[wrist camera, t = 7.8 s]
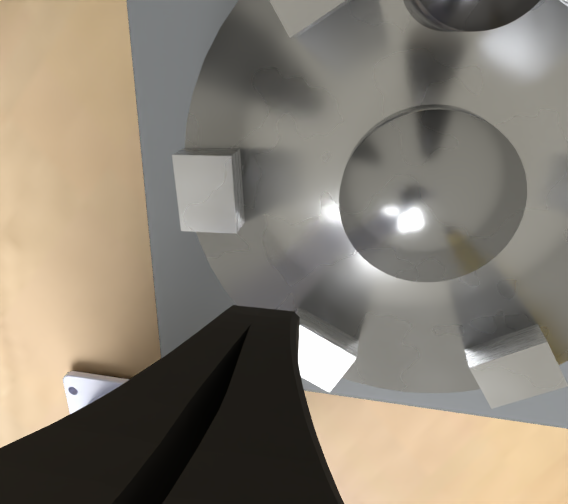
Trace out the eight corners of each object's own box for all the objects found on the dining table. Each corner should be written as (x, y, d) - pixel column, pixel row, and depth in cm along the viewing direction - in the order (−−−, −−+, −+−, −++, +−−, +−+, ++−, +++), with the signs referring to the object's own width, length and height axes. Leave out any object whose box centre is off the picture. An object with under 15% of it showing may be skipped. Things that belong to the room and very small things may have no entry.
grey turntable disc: (610, 376, 18) (731, 555, 12) (221, 342, 20) (154, 474, 14) (770, -122, 12) (1204, -293, 5) (182, -81, 14) (33, -166, 8)
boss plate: (625, 412, 20) (645, 443, 19) (174, 350, 23) (160, 372, 22) (893, -210, 12) (970, -246, 10) (131, -183, 15) (103, -208, 13)
